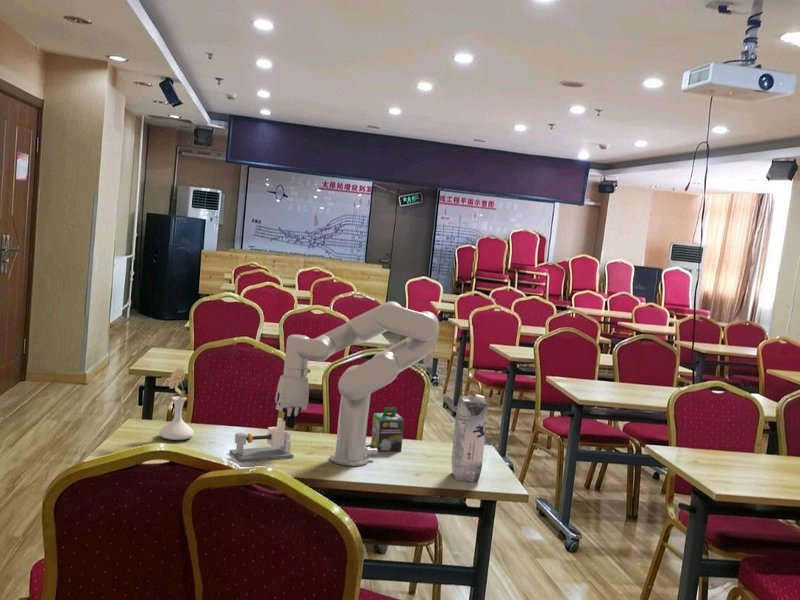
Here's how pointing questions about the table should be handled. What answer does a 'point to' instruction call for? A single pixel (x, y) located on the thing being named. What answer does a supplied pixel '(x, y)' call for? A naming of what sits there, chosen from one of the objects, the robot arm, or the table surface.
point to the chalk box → (387, 430)
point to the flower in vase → (177, 411)
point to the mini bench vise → (265, 452)
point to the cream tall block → (277, 434)
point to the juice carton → (469, 438)
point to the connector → (240, 442)
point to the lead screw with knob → (256, 437)
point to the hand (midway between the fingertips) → (289, 426)
